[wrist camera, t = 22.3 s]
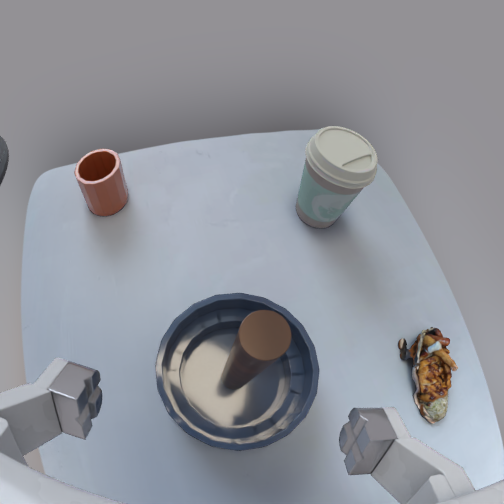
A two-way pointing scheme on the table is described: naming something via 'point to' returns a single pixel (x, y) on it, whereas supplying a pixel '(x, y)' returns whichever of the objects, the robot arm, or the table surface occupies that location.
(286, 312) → the bowl
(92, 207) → the crock
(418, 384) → the loaded food tray
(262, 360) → the brown wooden rod
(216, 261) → the table surface
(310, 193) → the coffee cup
